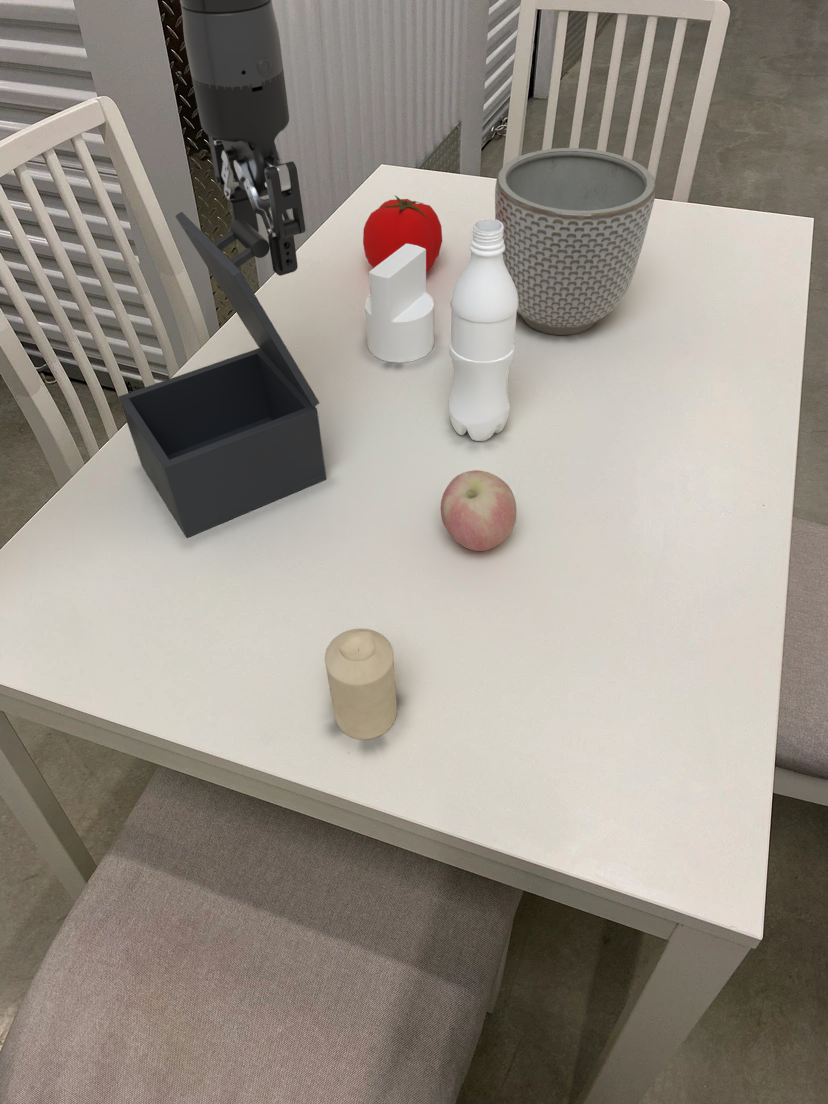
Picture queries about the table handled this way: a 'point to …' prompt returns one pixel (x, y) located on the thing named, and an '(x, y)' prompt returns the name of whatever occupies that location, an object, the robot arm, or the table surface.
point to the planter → (572, 233)
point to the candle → (362, 683)
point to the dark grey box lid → (246, 292)
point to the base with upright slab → (400, 307)
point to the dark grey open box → (225, 439)
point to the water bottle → (482, 336)
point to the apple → (478, 510)
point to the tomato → (401, 230)
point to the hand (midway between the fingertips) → (266, 253)
